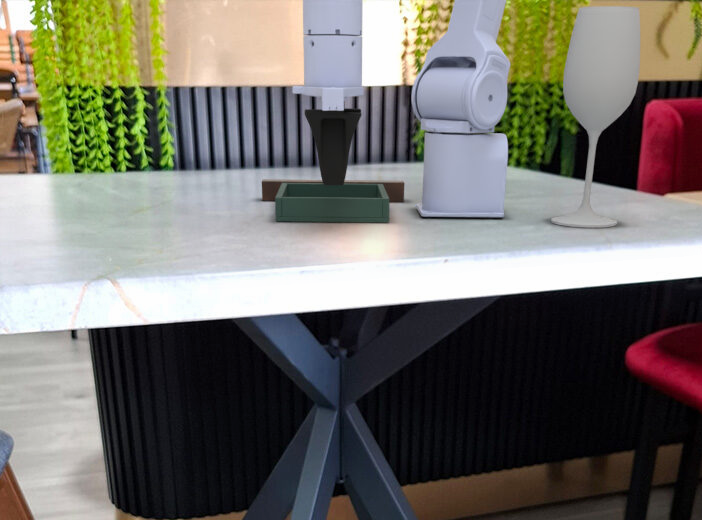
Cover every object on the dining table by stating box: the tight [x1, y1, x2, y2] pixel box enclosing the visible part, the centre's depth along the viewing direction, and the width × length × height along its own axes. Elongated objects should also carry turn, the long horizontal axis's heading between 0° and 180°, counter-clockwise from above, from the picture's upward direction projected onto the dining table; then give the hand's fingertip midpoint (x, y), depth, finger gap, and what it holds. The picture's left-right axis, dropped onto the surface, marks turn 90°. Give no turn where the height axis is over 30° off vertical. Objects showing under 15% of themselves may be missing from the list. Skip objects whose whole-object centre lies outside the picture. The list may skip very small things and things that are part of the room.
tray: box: [274, 183, 390, 224], centre depth 104 cm, size 12×14×2 cm
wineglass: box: [550, 5, 641, 229], centre depth 95 cm, size 8×8×21 cm
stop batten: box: [261, 178, 405, 203], centre depth 114 cm, size 18×2×2 cm, turn 91°
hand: (333, 184), depth 92 cm, fingers closed
